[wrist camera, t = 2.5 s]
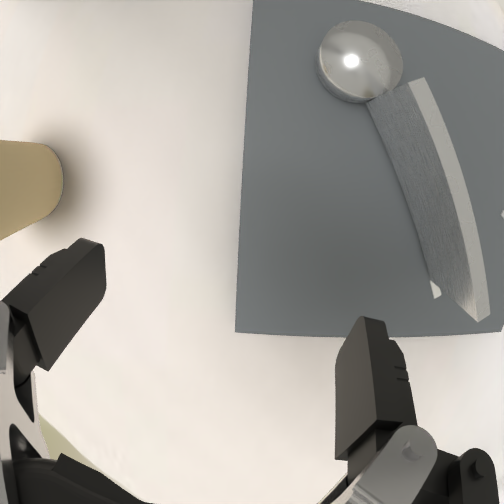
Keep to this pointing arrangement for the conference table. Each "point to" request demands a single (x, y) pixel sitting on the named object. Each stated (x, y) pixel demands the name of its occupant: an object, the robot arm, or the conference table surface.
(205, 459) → the conference table surface
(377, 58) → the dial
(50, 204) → the coffee cup
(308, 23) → the dial plate
